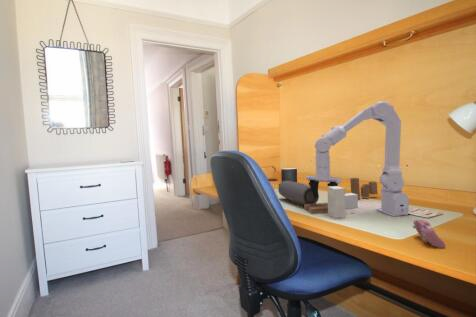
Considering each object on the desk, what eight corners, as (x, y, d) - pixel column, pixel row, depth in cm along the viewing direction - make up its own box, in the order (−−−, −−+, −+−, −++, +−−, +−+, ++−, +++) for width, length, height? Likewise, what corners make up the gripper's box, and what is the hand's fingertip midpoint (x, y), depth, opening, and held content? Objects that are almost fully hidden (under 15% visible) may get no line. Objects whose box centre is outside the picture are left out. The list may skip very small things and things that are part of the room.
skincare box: (345, 219, 101) (345, 188, 101) (335, 220, 101) (334, 189, 100) (337, 215, 107) (336, 185, 106) (327, 216, 107) (326, 186, 106)
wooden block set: (374, 196, 137) (373, 176, 137) (381, 198, 129) (379, 177, 129) (337, 197, 139) (336, 177, 139) (342, 200, 131) (341, 179, 131)
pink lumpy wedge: (415, 239, 81) (408, 217, 81) (432, 236, 80) (425, 213, 80) (428, 253, 72) (420, 228, 72) (447, 249, 71) (439, 224, 71)
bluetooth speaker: (320, 207, 120) (319, 185, 120) (302, 209, 117) (302, 187, 117) (293, 197, 142) (292, 178, 141) (277, 199, 139) (277, 180, 138)
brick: (357, 208, 116) (357, 194, 116) (341, 210, 114) (341, 196, 114) (351, 206, 120) (351, 192, 120) (336, 207, 118) (336, 194, 118)
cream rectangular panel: (364, 215, 105) (364, 214, 105) (345, 217, 104) (345, 215, 104) (355, 211, 111) (355, 210, 111) (337, 212, 110) (337, 211, 110)
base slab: (344, 212, 111) (344, 206, 110) (312, 215, 109) (311, 209, 108) (334, 207, 119) (334, 202, 118) (304, 210, 116) (304, 204, 116)
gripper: (343, 166, 110) (344, 199, 111) (311, 165, 120) (312, 195, 121) (336, 168, 105) (337, 202, 106) (303, 166, 115) (304, 197, 116)
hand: (323, 198), depth 113 cm, fingers open, 6 cm apart
